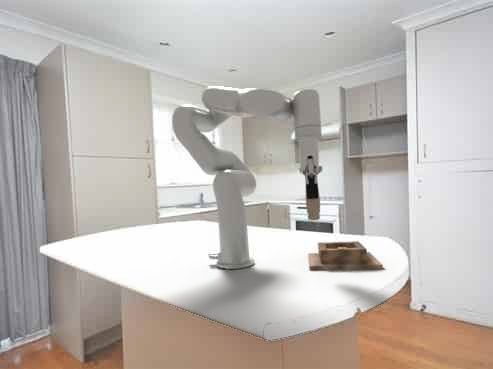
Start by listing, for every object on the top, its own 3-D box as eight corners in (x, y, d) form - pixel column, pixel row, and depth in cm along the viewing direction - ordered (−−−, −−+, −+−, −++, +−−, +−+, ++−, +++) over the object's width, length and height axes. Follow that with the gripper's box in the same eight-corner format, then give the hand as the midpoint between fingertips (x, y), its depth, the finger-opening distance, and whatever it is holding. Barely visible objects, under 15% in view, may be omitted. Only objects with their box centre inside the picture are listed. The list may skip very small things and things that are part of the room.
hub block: (309, 270, 84) (308, 251, 84) (308, 256, 100) (307, 241, 100) (382, 269, 80) (381, 249, 80) (369, 255, 96) (368, 238, 96)
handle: (322, 220, 79) (318, 165, 79) (300, 220, 82) (296, 168, 82) (327, 218, 83) (324, 166, 83) (306, 218, 86) (303, 168, 86)
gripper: (295, 140, 92) (299, 197, 91) (293, 130, 75) (298, 200, 75) (320, 137, 90) (324, 196, 90) (323, 127, 74) (328, 198, 74)
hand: (312, 197), depth 82 cm, fingers closed on handle, 3 cm apart
